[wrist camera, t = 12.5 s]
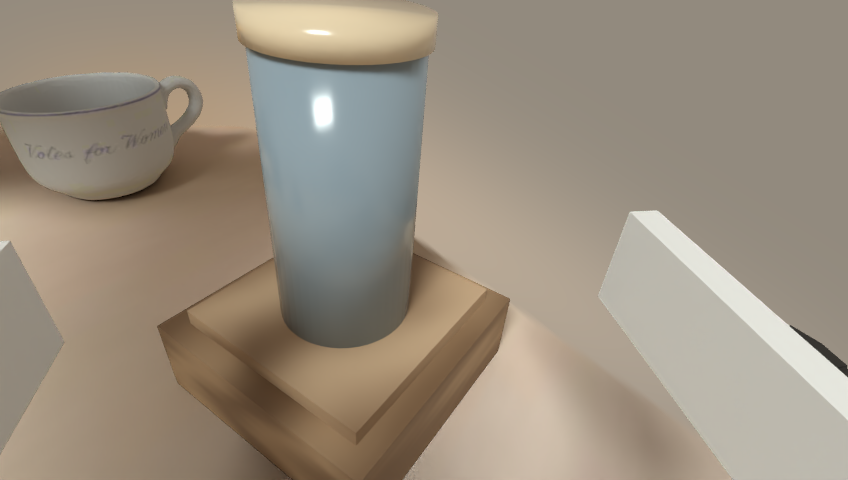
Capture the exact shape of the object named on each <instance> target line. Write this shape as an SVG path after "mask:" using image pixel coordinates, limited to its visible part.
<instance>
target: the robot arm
mask: <svg viewBox="0 0 848 480" xmlns="http://www.w3.org/2000/svg"><path fill="white" fill-rule="evenodd" d="M598 297H599V299H600V300H601V301H602V303H603V304H604V305H605V307H606V308H607V309H608V311H609V312H610V313H611V315H612V316H613V318H614V319H615V320H616V322H617V323H618V324H619V326H620V327H621V328H622V330H623V331H624V333H625V334H626V335H627V336H628V338H629V339H630V341H631V342H632V343H633V345H634V346H635V348H636V349H637V350H638V352H639V353H640V354H641V356H642V357H643V358H644V360H645V361H646V362H647V364H648V365H649V367H650V368H651V369H652V370H653V372H654V373H655V375H656V376H657V377H658V379H659V380H660V382H662V384H663V385H664V387H665V388H666V390H667V391H668V392H669V394H670V395H671V396H672V398H673V399H674V400H675V402H676V403H677V405H678V406H679V407H680V409H681V410H682V411H683V413H684V414H685V415H686V417H687V418H688V420H689V421H690V422H691V424H692V425H693V426H694V428H695V429H696V430H697V432H698V433H699V435H700V436H701V437H702V439H703V440H704V441H705V443H706V444H707V445H708V447H709V448H710V450H711V451H712V452H713V454H714V455H715V456H716V458H717V459H718V460H719V462H720V463H721V464H722V466H723V467H724V469H725V470H726V471H727V473H728V474H729V475H730V477H731V478H732V479H733V480H848V369H847V365H846V364H845V363H844V362H842V361H841V360H840V359H839V358H838V357H837V356H835V355H834V354H833V353H832V352H831V351H830V350H828V349H827V348H826V347H825V346H824V345H822V344H821V343H820V342H818V341H816V340H815V339H813V338H811V337H809V336H808V335H806V334H804V333H803V332H801V331H799V330H798V329H796V328H794V327H793V326H791V325H790V326H789V325H787V324H786V323H785V322H784V321H783V320H782V319H781V318H779V317H778V316H777V315H776V314H775V313H774V312H773V311H771V310H770V309H769V308H768V307H767V306H766V305H765V304H763V303H762V302H761V301H760V300H759V299H758V298H757V297H755V296H754V295H753V294H752V293H751V292H749V290H747V289H746V288H745V287H744V286H743V285H742V284H741V283H739V282H738V281H737V280H736V279H735V278H734V277H733V276H732V275H730V274H729V273H728V272H727V271H726V270H725V269H724V268H722V267H721V266H720V265H719V264H718V263H717V262H716V261H714V260H713V259H712V258H711V257H710V256H709V255H708V254H706V253H705V252H704V251H703V250H702V249H701V248H700V247H698V246H697V245H696V244H695V243H694V242H693V241H692V240H690V239H689V238H688V237H687V236H686V235H685V234H684V233H682V232H681V231H680V230H679V229H678V228H677V227H676V226H674V225H673V224H672V223H671V222H670V221H669V220H668V219H666V218H665V217H664V216H663V215H662V214H661V213H660V212H658V211H636V212H630V213H629V215H628V218H627V221H626V223H625V226H624V229H623V231H622V234H621V236H620V239H619V242H618V244H617V247H616V250H615V252H614V255H613V258H612V260H611V263H610V266H609V269H608V271H607V274H606V276H605V279H604V281H603V284H602V287H601V290H600V292H599V295H598ZM63 344H64V340H63V338H62V336H61V334H60V333H59V331H58V329H57V327H56V325H55V323H54V321H53V320H52V318H51V316H50V314H49V312H48V310H47V308H46V307H45V305H44V303H43V301H42V299H41V297H40V295H39V294H38V292H37V290H36V288H35V286H34V284H33V282H32V281H31V279H30V277H29V275H28V273H27V271H26V269H25V268H24V266H23V264H22V262H21V260H20V258H19V256H18V255H17V253H16V251H15V249H14V247H13V245H12V243H11V242H10V241H0V454H1V452H2V450H3V449H4V447H5V445H6V443H7V442H8V440H9V438H10V436H11V435H12V433H13V431H14V429H15V428H16V426H17V424H18V422H19V421H20V419H21V417H22V415H23V414H24V412H25V410H26V408H27V407H28V405H29V403H30V401H31V400H32V398H33V396H34V394H35V393H36V391H37V389H38V387H39V386H40V384H41V382H42V380H43V379H44V377H45V375H46V373H47V372H48V370H49V368H50V366H51V365H52V363H53V361H54V360H55V358H56V356H57V354H58V353H59V351H60V349H61V347H62V346H63Z"/></svg>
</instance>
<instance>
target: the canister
mask: <svg viewBox="0 0 848 480" xmlns="http://www.w3.org/2000/svg"><path fill="white" fill-rule="evenodd" d="M233 9H234V16H235V23H236V30H237V37H238V41H239V42H240V43H241V44H242V45H244V46H245V47H246V54H247V60H248V69H249V76H250V84H251V91H252V99H253V106H254V114H255V121H256V129H257V136H258V144H259V151H260V159H261V166H262V174H263V181H264V189H265V196H266V204H267V211H268V219H269V226H270V234H271V241H272V249H273V256H274V264H275V271H276V279H277V286H278V294H279V301H280V309H281V314H282V318H283V320H284V322H285V324H286V325H287V327H288V328H289V329H290V330H291V331H292V332H293V333H294V334H296V335H297V336H298V337H300V338H302V339H303V340H305V341H308V342H310V343H312V344H316V345H319V346H323V347H329V348H353V347H360V346H364V345H368V344H371V343H374V342H376V341H378V340H380V339H383V338H384V337H386V336H388V335H389V334H391V333H392V332H393V331H394V330H396V329H397V328H398V326H399V325H400V324H401V323H402V321H403V320H404V319H405V316H406V314H407V311H408V307H409V294H410V282H411V269H412V257H413V244H414V231H415V219H416V218H415V217H416V207H417V193H418V182H419V181H418V180H419V169H420V156H421V144H422V132H423V119H424V107H425V94H426V82H427V69H428V56H429V55H430V54H431V53H432V52H434V50H435V45H436V33H437V22H438V21H437V20H438V13H437V12H436V11H435V10H433V9H431V8H429V7H427V6H424V5H421V4H417V3H414V2H409V1H404V0H233Z"/></svg>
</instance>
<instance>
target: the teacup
mask: <svg viewBox="0 0 848 480" xmlns="http://www.w3.org/2000/svg"><path fill="white" fill-rule="evenodd" d="M176 88H182V89H184V90H185V91H186V92H187V94H188V97H189V105H188V107H187V109H186V111H185V113H184V114H183V115H182V116H181V117H180V118H179V120H177V121H176V122H175V123H174V124H172V125H171V126H170V123H169V119H168V116H167V112H166V109H167V101H168V96H169V94H170V93H171V92H172V91H173V90H174V89H176ZM202 106H203V99H202V95H201V92H200V90H199V89H198V87H197V86H196V85H195V84H194V83H193V82H192V81H191V80H189V79H186V78H184V77H181V76H170V77H167V78H165V79H163V80H162V81H161V82H158V81H157V80H156V79H155V78H153V77H150V76H146V75H141V74H134V73H120V72H118V73H106V72H103V73H89V74H76V75H67V76H60V77H54V78H47V79H43V80H38V81H34V82H31V83H26V84H22V85H19V86H16V87H12V88H9V89H7V90H5V91H2V92H0V123H1V125H2V127H3V129H4V131H5V133H6V135H7V137H8V139H9V141H10V143H11V145H12V147H13V149H14V151H15V153H16V154H17V156H18V158H19V160H20V162H21V163H22V165H23V166H24V168H25V169H26V171H27V172H28V174H29V175H30V176H31V177H32V178H33V179H34V180H35V181H36V182H38V183H39V184H41V185H42V186H44V187H46V188H48V189H50V190H53V191H56V192H60V193H64V194H67V195H69V196H71V197H75V198H79V199H85V200H101V199H110V198H116V197H120V196H124V195H128V194H132V193H135V192H137V191H140V190H142V189H144V188H146V187H148V186H150V185H151V184H153V183H154V182H155V181H156V180H157V179H158V178H159V177H160V175H161V173H162V172H163V171H164V170H165V169H166V168H167V167H168V166H169V164H170V163H171V160H172V158H173V155H174V146H175V145H176V144H177V143H178V140H179V137H180V136H181V135H182V134H183V133H184V132H185V131H186V130H187V129H188V128H189V127H190V126H191V125H192V124H193V123H194V122H195V121H196V119H197V118H198V117H199V115H200V113H201V110H202Z"/></svg>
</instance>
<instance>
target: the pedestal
mask: <svg viewBox="0 0 848 480" xmlns="http://www.w3.org/2000/svg"><path fill="white" fill-rule="evenodd" d="M509 302H510V299H509V298H507V297H505V296H503V295H501V294H499V293H497V292H494V291H492V290H490V289H488V288H486V287H484V286H482V285H480V284H477V283H475V282H473V281H471V280H469V279H467V278H465V277H463V276H461V275H458V274H456V273H454V272H452V271H450V270H448V269H446V268H444V267H441V266H439V265H437V264H435V263H433V262H431V261H429V260H427V259H424V258H422V257H420V256H418V255H416V254H414V253H413V257H412V269H411V282H410V294H409V307H408V311H407V314H406V316H405V319H404V320H403V321H402V323H401V324H400V325H399V326H398V328H397V329H396V330H394V331H393V332H392V333H391V334H389V335H388V336H386V337H384V338H383V339H380V340H378V341H376V342H374V343H371V344H368V345H364V346H360V347H353V348H329V347H323V346H319V345H316V344H312V343H310V342H308V341H305V340H303V339H302V338H300V337H298V336H297V335H296V334H294V333H293V332H292V331H291V330H290V329H289V328H288V327H287V325H286V324H285V322H284V320H283V318H282V314H281V309H280V301H279V294H278V286H277V279H276V271H275V264H274V257H273V258H272V259H270V260H268V261H267V262H265V263H263V264H262V265H260V266H258V267H257V268H255V269H253V270H251V271H250V272H248V273H246V274H245V275H243V276H241V277H240V278H238V279H236V280H234V281H233V282H231V283H229V284H228V285H226V286H224V287H223V288H221V289H219V290H218V291H216V292H214V293H212V294H211V295H209V296H207V297H206V298H204V299H202V300H201V301H199V302H197V303H196V304H194V305H192V306H190V307H189V308H187V309H185V310H184V311H182V312H180V313H179V314H177V315H175V316H173V317H172V318H170V319H168V320H167V321H165V322H163V323H162V324H160V325H158V326H157V327H158V330H159V333H160V336H161V338H162V341H163V344H164V347H165V349H166V352H167V355H168V358H169V360H170V363H171V366H172V369H173V371H174V374H175V377H176V380H177V382H178V383H179V384H180V385H181V386H182V387H183V388H184V389H186V390H187V391H188V392H189V393H190V394H192V395H193V396H194V397H195V398H196V399H197V400H199V401H200V402H201V403H202V404H203V405H205V406H206V407H207V408H208V409H209V410H210V411H212V412H213V413H214V414H215V415H216V416H218V417H219V418H220V419H221V420H222V421H224V422H225V423H226V424H227V425H228V426H229V427H231V428H232V429H233V430H234V431H235V432H237V433H238V434H239V435H240V436H241V437H242V438H244V439H245V440H246V441H247V442H248V443H250V444H251V445H252V446H253V447H254V448H255V449H257V450H258V451H259V452H260V453H261V454H263V455H264V456H265V457H266V458H267V459H268V460H270V461H271V462H272V463H273V464H274V465H276V466H277V467H278V468H279V469H280V470H281V471H283V472H284V473H285V474H286V475H287V476H289V477H290V478H291V479H292V480H402V479H403V478H404V477H405V475H406V474H407V473H408V471H409V470H410V469H411V467H412V466H413V464H414V463H415V462H416V460H417V459H418V458H419V456H420V455H421V454H422V452H423V451H424V450H425V448H426V447H427V446H428V444H429V443H430V442H431V440H432V439H433V438H434V436H435V435H436V433H437V432H438V431H439V429H440V428H441V427H442V425H443V424H444V423H445V421H446V420H447V419H448V417H449V416H450V415H451V413H452V412H453V411H454V409H455V408H456V407H457V405H458V404H459V402H460V401H461V400H462V398H463V397H464V396H465V394H466V393H467V392H468V390H469V389H470V388H471V386H472V385H473V384H474V382H475V381H476V380H477V378H478V377H479V376H480V374H481V373H482V371H483V370H484V369H485V367H486V366H487V365H488V363H489V362H490V361H491V359H492V358H493V357H494V355H495V354H496V353H497V351H498V348H499V344H500V340H501V335H502V331H503V327H504V323H505V319H506V314H507V310H508V306H509Z"/></svg>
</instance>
